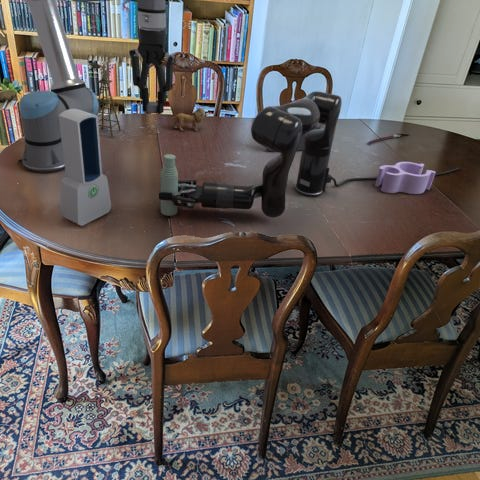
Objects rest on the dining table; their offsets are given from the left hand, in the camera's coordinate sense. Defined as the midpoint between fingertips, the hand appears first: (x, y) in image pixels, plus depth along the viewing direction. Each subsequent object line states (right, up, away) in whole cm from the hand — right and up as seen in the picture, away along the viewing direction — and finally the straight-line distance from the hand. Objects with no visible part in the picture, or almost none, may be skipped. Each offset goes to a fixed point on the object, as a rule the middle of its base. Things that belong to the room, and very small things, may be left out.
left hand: (153, 111), depth 142 cm
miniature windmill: (-27, +4, +47) cm, 55 cm away
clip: (+85, -20, +29) cm, 92 cm away
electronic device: (-18, -32, -8) cm, 37 cm away
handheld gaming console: (+48, -2, +50) cm, 69 cm away
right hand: (+3, -25, -5) cm, 26 cm away
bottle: (+5, -31, -1) cm, 31 cm away
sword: (+95, +7, +72) cm, 119 cm away
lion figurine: (+4, +9, +59) cm, 60 cm away
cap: (0, +2, -1) cm, 2 cm away
